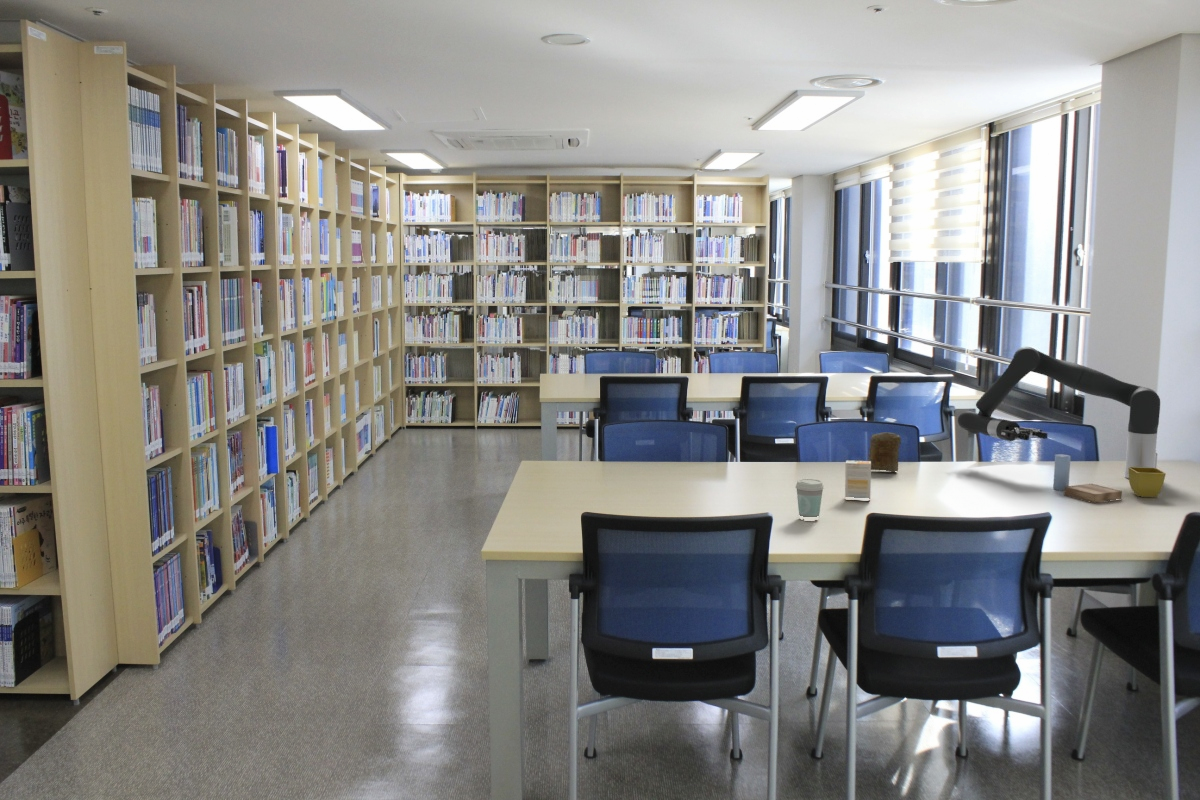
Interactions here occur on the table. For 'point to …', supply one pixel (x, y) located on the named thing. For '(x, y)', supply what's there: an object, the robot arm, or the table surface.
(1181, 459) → the table surface
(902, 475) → the table surface
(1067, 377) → the robot arm
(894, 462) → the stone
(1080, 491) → the stand
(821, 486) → the coffee cup
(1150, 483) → the flower pot
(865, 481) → the supplement box
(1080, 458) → the table surface
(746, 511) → the table surface
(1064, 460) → the pale blue tumbler
